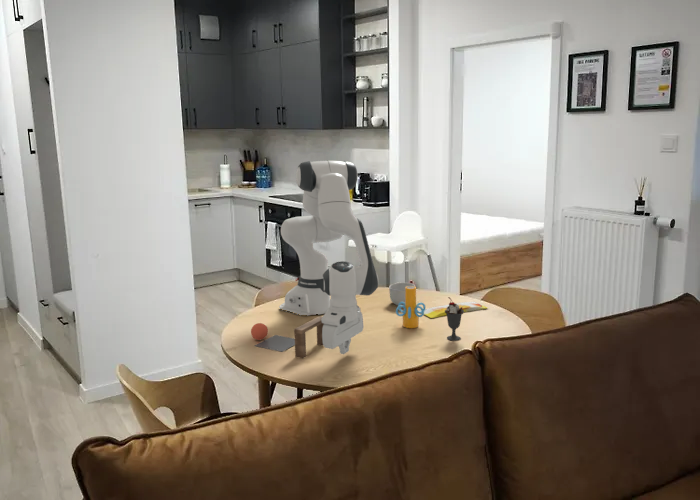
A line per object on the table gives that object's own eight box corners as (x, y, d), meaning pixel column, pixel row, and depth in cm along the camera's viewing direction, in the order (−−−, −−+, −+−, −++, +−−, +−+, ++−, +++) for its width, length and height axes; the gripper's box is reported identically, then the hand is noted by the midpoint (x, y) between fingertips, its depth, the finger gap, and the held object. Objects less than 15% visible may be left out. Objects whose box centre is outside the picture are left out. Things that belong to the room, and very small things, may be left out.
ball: (248, 340, 221) (246, 324, 220) (258, 335, 226) (257, 320, 225) (261, 343, 218) (260, 327, 217) (271, 338, 223) (270, 322, 222)
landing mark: (254, 345, 216) (254, 345, 216) (275, 335, 226) (275, 334, 226) (282, 352, 210) (282, 351, 210) (302, 340, 220) (302, 340, 220)
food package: (430, 315, 240) (417, 308, 249) (430, 320, 241) (417, 313, 250) (488, 305, 251) (474, 299, 260) (488, 310, 252) (474, 304, 261)
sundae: (442, 335, 223) (442, 295, 219) (460, 334, 223) (461, 294, 220) (446, 342, 216) (447, 300, 213) (465, 341, 217) (466, 299, 213)
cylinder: (423, 332, 226) (423, 292, 223) (394, 330, 229) (394, 291, 225) (426, 321, 238) (426, 283, 235) (398, 320, 240) (398, 282, 237)
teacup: (416, 307, 255) (416, 288, 254) (389, 308, 256) (389, 289, 254) (413, 297, 269) (413, 280, 267) (388, 298, 269) (388, 280, 268)
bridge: (295, 356, 206) (294, 329, 203) (320, 342, 218) (319, 316, 216) (302, 358, 204) (301, 330, 202) (327, 343, 217) (326, 317, 215)
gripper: (351, 302, 212) (352, 340, 215) (318, 319, 194) (319, 361, 197) (367, 305, 208) (368, 344, 211) (335, 322, 191) (336, 365, 194)
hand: (344, 352), depth 204 cm, fingers closed
